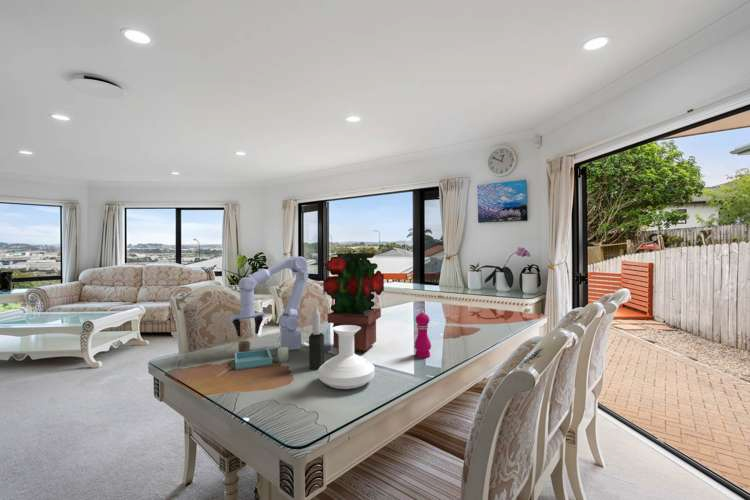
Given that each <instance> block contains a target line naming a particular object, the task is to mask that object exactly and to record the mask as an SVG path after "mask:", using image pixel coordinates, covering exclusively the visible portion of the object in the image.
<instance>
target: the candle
mask: <svg viewBox="0 0 750 500" xmlns="http://www.w3.org/2000/svg"><path fill="white" fill-rule="evenodd" d="M308 361H309V362H308V366H309V367H308V369H309V370H317V371H318V369H319V368H320V366H321V365H322V364H324V363H325V335H324V333H322V332H321V313H320V311H319V308H318V305H317V304H315V305H314V310H313V312H312V332H311V333H310V335H309V336H308Z"/></svg>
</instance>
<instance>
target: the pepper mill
mask: <svg viewBox="0 0 750 500" xmlns="http://www.w3.org/2000/svg"><path fill="white" fill-rule="evenodd" d="M415 322H416V329H417V337H416V339H415V341H414V349H415V357H416V358H420V359H426V358H430V357H431V351H430V350H431V348H432V343H431V341H430V339H429V336H428V329H429V323H430V317H429V315H428V314H426V313H425V310H423V309H422V310H420V313H419V314H417V315H416V317H415Z"/></svg>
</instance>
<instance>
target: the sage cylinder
mask: <svg viewBox="0 0 750 500" xmlns="http://www.w3.org/2000/svg"><path fill="white" fill-rule="evenodd" d="M288 361H289V350H288V347H280V348H279V347H278V348H277V362H280V363H283V362H288Z"/></svg>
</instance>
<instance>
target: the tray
mask: <svg viewBox="0 0 750 500" xmlns="http://www.w3.org/2000/svg"><path fill="white" fill-rule="evenodd" d="M234 366H235V367H234V368H235V369H234V370H235V371H240V370H248V369H255V368H261V367H270V366H273V355H271V354H270V351H269V349H265V348H264V349H258V350H250V351H247V352H239V351H237V352H234Z"/></svg>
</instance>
